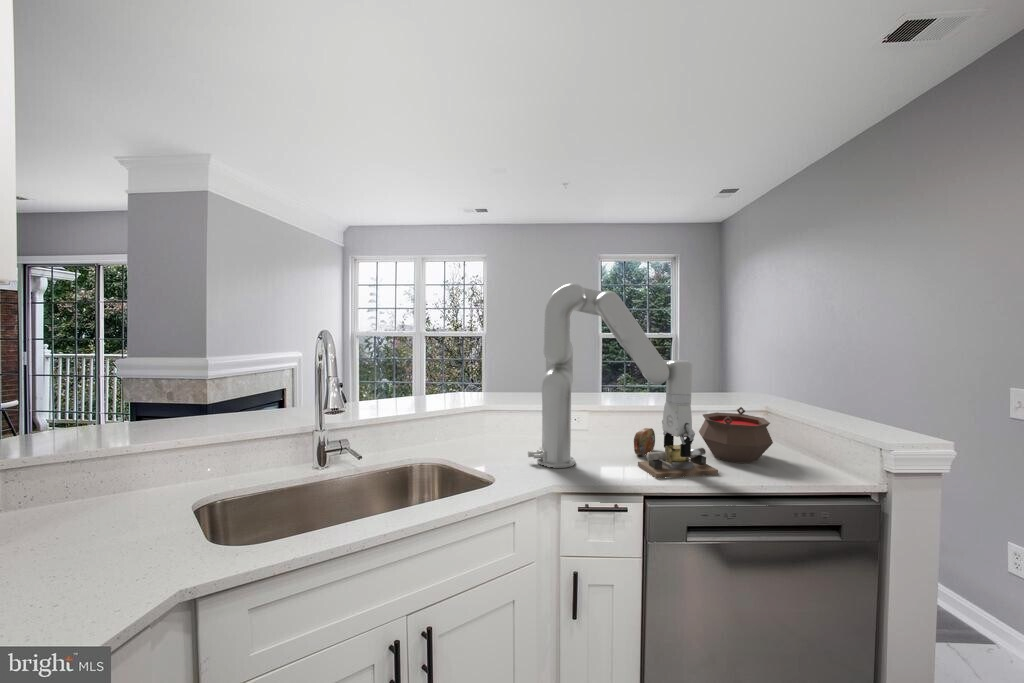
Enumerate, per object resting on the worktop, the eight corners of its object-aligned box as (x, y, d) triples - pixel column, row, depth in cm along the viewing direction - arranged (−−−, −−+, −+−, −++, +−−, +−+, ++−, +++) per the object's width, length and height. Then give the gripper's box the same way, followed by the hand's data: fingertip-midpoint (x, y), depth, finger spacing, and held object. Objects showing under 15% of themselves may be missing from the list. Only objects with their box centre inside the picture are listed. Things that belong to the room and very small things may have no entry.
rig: (656, 478, 137) (656, 458, 137) (637, 466, 149) (638, 447, 149) (718, 474, 141) (718, 455, 141) (695, 462, 153) (696, 444, 153)
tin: (640, 458, 158) (641, 434, 157) (631, 456, 160) (632, 433, 159) (655, 449, 170) (656, 426, 169) (647, 447, 171) (648, 425, 171)
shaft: (694, 466, 144) (694, 452, 144) (683, 463, 148) (684, 449, 147) (707, 463, 148) (707, 449, 147) (696, 460, 151) (697, 446, 151)
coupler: (671, 464, 143) (671, 449, 142) (664, 461, 146) (665, 445, 146) (688, 463, 144) (689, 448, 144) (681, 460, 148) (682, 444, 147)
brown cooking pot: (766, 472, 143) (768, 421, 143) (688, 458, 158) (689, 411, 157) (777, 455, 163) (779, 410, 162) (706, 443, 177) (707, 402, 176)
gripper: (654, 394, 152) (652, 445, 153) (682, 404, 135) (681, 460, 136) (674, 394, 153) (672, 444, 154) (705, 403, 136) (703, 459, 137)
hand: (676, 452), depth 145 cm, fingers open, 9 cm apart
